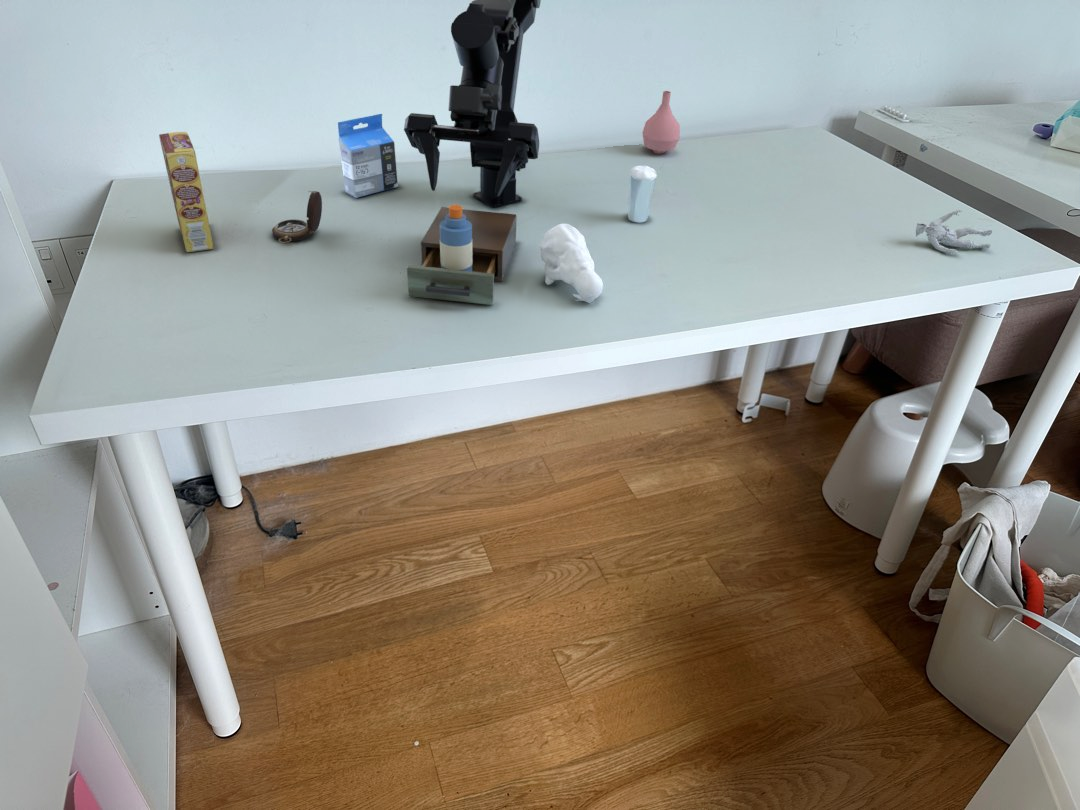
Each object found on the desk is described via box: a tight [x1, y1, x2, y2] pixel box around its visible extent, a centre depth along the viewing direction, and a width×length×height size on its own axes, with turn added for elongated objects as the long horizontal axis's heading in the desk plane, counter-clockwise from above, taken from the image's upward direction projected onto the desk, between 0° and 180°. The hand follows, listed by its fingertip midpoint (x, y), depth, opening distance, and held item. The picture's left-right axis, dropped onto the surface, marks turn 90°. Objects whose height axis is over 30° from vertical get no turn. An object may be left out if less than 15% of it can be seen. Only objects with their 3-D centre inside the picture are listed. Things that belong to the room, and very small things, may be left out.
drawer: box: [406, 248, 498, 306], centre depth 114 cm, size 15×12×4 cm
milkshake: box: [627, 164, 664, 224], centre depth 134 cm, size 4×5×10 cm
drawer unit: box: [420, 206, 517, 282], centre depth 121 cm, size 13×12×5 cm
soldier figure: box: [915, 209, 993, 255], centre depth 132 cm, size 8×5×12 cm
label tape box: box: [337, 113, 399, 199], centre depth 138 cm, size 9×4×12 cm, turn 131°
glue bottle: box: [440, 204, 473, 271], centre depth 110 cm, size 4×4×11 cm
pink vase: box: [642, 90, 681, 155], centre depth 161 cm, size 8×8×12 cm
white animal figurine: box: [539, 223, 604, 304], centre depth 113 cm, size 6×8×12 cm
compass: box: [271, 190, 323, 244], centre depth 123 cm, size 8×8×7 cm
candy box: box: [158, 131, 214, 253], centre depth 118 cm, size 9×4×15 cm, turn 26°
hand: (464, 192), depth 112 cm, fingers open, 9 cm apart
